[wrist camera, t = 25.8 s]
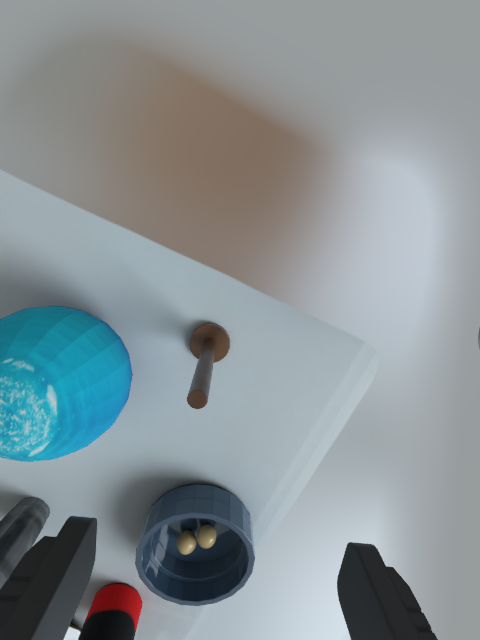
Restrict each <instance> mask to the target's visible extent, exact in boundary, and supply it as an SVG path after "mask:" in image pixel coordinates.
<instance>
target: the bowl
mask: <svg viewBox="0 0 480 640" xmlns="http://www.w3.org/2000/svg"><path fill="white" fill-rule="evenodd" d="M205 524H210V525H212V526H213V527H214V528H215V530H216V541H215V543H214V544H213V546H211V547H210V548H202V547H201V546H200V545H199V544H198V542H196V547H195V549H194V550H193V551H192V552H191V553H190V554H187V555H184V554H181V553H180V552H179V551H178V549H177V539H178V536H179V535H180V534H181V533H182V532H183V531H185V530H190V531H192V532H193V533H194V534H195V536H196V541H197V532H198V530H199V528H200V527H201V526H203V525H205ZM254 560H255V554H254V542H253V529H252V523H251V518H250V514H249V512H248V511H247V509H246V507H245V506H244V504H243V503H242V501H240V500H239V499H238V498H236V497H235V496H234V495H233V494H231V493H230V492H228V491H225V490H223V489H220V488H218V487H215V486H208V485H198V484H197V485H190V486H184V487H179V488H177V489H175V490H173V491H171V492H168V493H166V494H165V495H163V496H162V497H161V498H160V499H159V500H158V501H157V502H156V503H155V504H154V505H153V506H152V508H151V510H150V512H149V514H148V516H147V517H146V521H145V524H144V527H143V530H142V533H141V537H140V540H139V543H138V546H137V549H136V561H135V564H136V567H137V571H138V574H139V577H140V579H141V580H142V581H143V582H144V584H145V585H146V586H147V587H148V589H149V590H150V591H152V592H153V593H155V594H156V595H158V596H159V597H161V598H163V599H165V600H168V601H171V602H174V603H177V604H180V605H191V606H200V605H206V604H212V603H216V602H219V601H221V600H223V599H226V598H228V597H230V596H232V595H233V594H235V593H236V592H237V591H238V590H240V589H241V588H242V587H243V586H244V585H245V583H246V581H247V580H248V578H249V577H250V575H251V574H252V569H253V565H254Z"/></svg>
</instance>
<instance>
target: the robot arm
mask: <svg viewBox="0 0 480 640" xmlns="http://www.w3.org/2000/svg"><path fill="white" fill-rule="evenodd" d="M96 533H97V519H96V518H88V517H77V516H71V517H69V518H68V519H67V521H66V522H65V524H64V525H63V527H62V529H61V530H60V532H59V534H58V535H57V537H48V536H44V537H43V538H42V539H41V540H40V541H38V542H37V543H36V544H35V545H34V546H33V547H32V548H31V549H29V550H28V551H27V552H26V553H25V554H24V555H23V557H22V558H21V560H20V561H19V563H18V564H17V566H16V567H15V569H14V570H13V572H12V573H11V575H10V577H9V579H8V580H6V582H5V583H4V585H3V586H2V588H1V589H0V640H64V637H65V635H66V633H67V630H68V628H69V626H70V623H71V621H72V619H73V616H74V614H75V612H76V609H77V607H78V605H79V602H80V600H81V598H82V595H83V593H84V591H85V589H86V586H87V584H88V581H89V579H90V576H91V573H92V569H93V566H94V561H95V554H96ZM337 589H338V597H339V601H340V604H341V608H342V611H343V615H344V618H345V621H346V624H347V628H348V630H349V634H350V637H351V640H438V639H437V638H436V636H435V634H434V633H432V630H431V627H430V625H429V623H428V621H427V619H426V617H425V615H424V613H422V612H421V608H420V606H419V604H418V602H417V600H416V598H415V597H414V595H413V593H412V591H411V589H410V587H409V586H408V584H407V583H406V582H405V581H404V580H403V579H402V577H401V576H400V575H399V574H398V573H397V572H396V571H395V569H394V568H393V567H386V566H385V564H384V562H383V560H382V558H381V556H380V554H379V552H378V550H377V548H376V547H375V546H374V545H371V544H362V543H351V542H350V543H348V545H347V548H346V551H345V554H344V558H343V561H342V565H341V568H340V572H339V575H338V580H337Z"/></svg>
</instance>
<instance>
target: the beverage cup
mask: <svg viewBox="0 0 480 640" xmlns="http://www.w3.org/2000/svg"><path fill="white" fill-rule="evenodd" d="M49 513H50V511H49V507H48V505H47V504H46V503H45V502H44V501H42V500H41V499H38V498H32V497H29V498H25V499H23V500H22V501H21V502H20V503H19V504H18V505H17V506H16V507H15V508H14V509H12V510H11V511H10V512H9V513H8V514H7V515H6V516H5V517H4V518H3V519H2V520H1V521H0V589H1V588H2V586H3V585H4V583H5V582H6V580H8V579H9V577H10V575H11V573H12V572H13V570H14V569H15V567H16V566H17V564H18V563H19V561H20V560H21V558H22V557H23V555H24V554H25V553H26V552H27V551H28V550H29V549H31V547H32V545H33V544H34V542H35V540H36V538H37V537H38V535H39V533H40V531H41V530H42V528H43V526H44V524H45V522H46V519H47V518H48V517H49Z"/></svg>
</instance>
